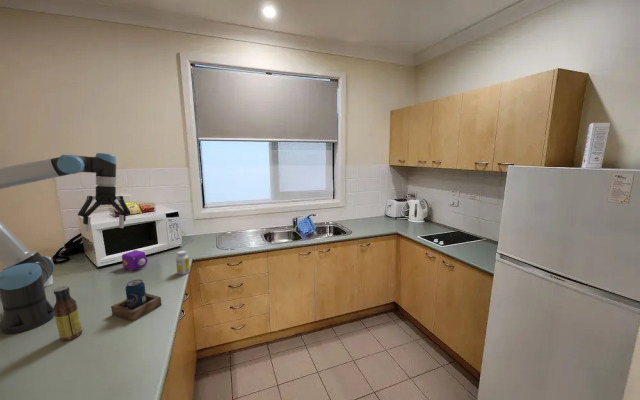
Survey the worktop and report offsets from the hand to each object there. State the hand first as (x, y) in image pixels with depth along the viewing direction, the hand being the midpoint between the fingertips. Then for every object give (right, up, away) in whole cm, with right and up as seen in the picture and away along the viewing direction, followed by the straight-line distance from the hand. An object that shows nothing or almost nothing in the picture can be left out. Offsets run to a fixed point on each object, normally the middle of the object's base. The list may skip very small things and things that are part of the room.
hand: (105, 229), depth 125 cm
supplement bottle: (+23, -29, +28) cm, 46 cm away
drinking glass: (-41, -31, +12) cm, 53 cm away
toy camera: (-9, -28, +35) cm, 45 cm away
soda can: (+23, -34, -10) cm, 42 cm away
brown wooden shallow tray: (+23, -35, -10) cm, 43 cm away
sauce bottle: (+10, -38, -27) cm, 48 cm away
